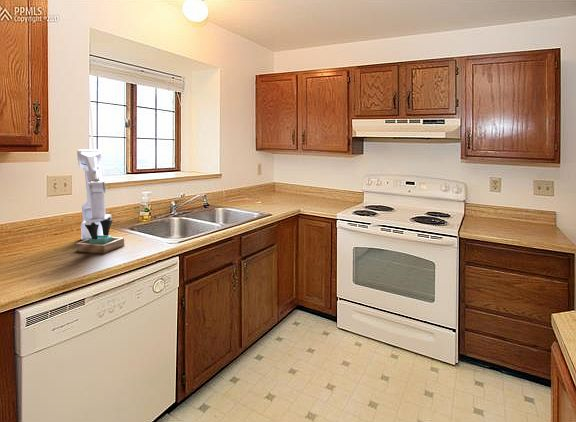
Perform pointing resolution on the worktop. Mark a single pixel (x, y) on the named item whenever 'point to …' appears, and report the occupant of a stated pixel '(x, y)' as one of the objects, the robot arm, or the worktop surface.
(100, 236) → the teal crate
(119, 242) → the tray
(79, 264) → the worktop surface
